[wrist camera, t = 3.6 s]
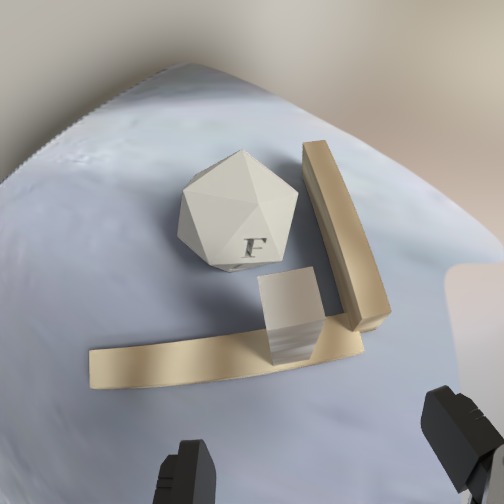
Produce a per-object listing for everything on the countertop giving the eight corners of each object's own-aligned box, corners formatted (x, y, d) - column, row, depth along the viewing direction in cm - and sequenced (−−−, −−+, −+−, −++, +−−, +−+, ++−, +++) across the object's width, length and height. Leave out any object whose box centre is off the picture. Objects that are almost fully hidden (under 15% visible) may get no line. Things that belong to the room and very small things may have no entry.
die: (175, 273, 27) (192, 282, 17) (172, 173, 27) (189, 132, 18) (266, 268, 29) (321, 273, 20) (261, 175, 29) (313, 142, 20)
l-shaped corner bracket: (96, 389, 21) (6, 360, 12) (105, 213, 30) (57, 141, 21) (380, 348, 21) (439, 297, 12) (322, 171, 29) (329, 81, 21)
